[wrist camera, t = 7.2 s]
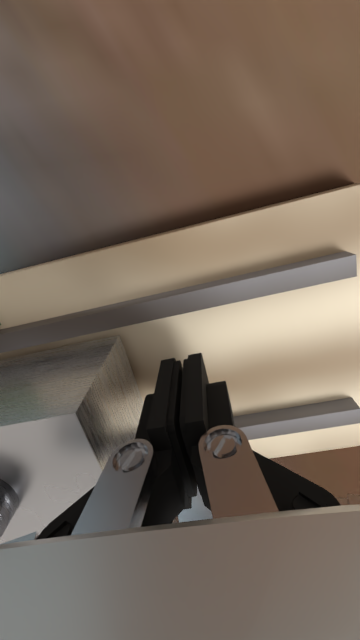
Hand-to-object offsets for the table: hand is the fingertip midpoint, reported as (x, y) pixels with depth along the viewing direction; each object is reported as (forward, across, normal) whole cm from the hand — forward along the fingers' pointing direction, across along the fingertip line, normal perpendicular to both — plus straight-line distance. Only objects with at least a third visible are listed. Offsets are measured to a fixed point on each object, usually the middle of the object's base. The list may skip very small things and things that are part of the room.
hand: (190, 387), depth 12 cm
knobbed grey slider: (+1, +7, -1) cm, 7 cm away
